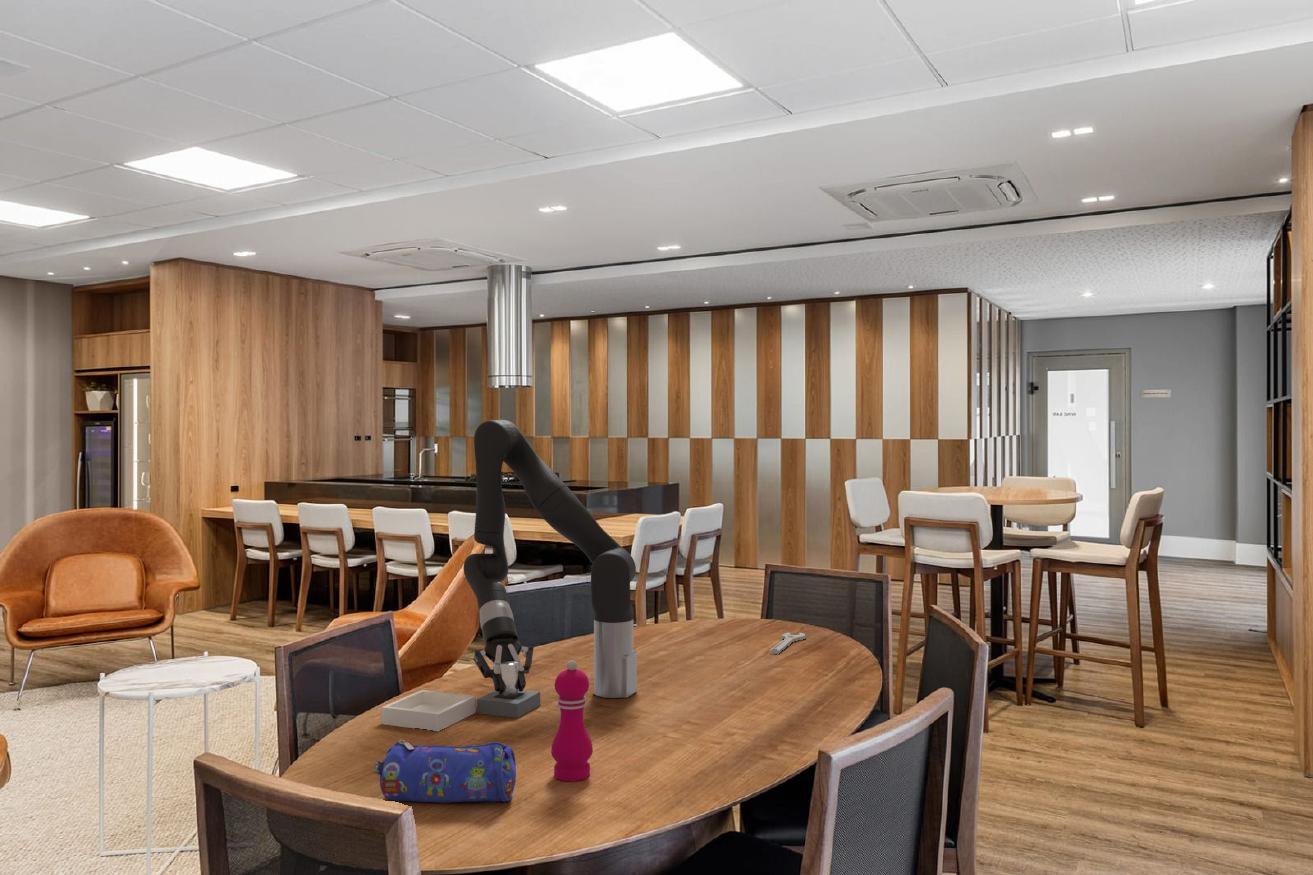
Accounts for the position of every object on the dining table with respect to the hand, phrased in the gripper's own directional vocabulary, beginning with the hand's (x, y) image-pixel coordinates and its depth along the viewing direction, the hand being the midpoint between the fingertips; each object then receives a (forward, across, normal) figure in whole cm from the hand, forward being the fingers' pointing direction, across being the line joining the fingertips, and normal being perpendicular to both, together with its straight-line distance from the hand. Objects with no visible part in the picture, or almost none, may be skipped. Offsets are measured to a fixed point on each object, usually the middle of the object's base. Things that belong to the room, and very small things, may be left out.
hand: (511, 690), depth 193 cm
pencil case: (+34, -22, -27) cm, 48 cm away
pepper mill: (+33, 0, -26) cm, 41 cm away
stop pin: (+2, 0, +5) cm, 5 cm away
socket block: (+2, 0, +5) cm, 5 cm away
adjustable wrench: (-18, +89, +26) cm, 94 cm away
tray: (+1, -17, +5) cm, 18 cm away
